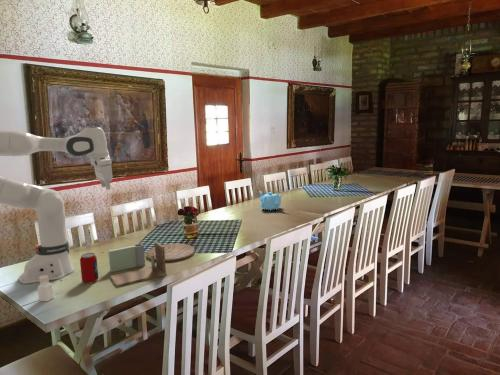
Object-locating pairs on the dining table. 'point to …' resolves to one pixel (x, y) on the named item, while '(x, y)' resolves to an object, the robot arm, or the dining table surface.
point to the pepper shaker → (45, 289)
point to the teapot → (270, 201)
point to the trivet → (173, 252)
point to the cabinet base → (144, 270)
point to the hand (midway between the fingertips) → (106, 188)
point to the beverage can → (89, 267)
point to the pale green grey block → (126, 257)
